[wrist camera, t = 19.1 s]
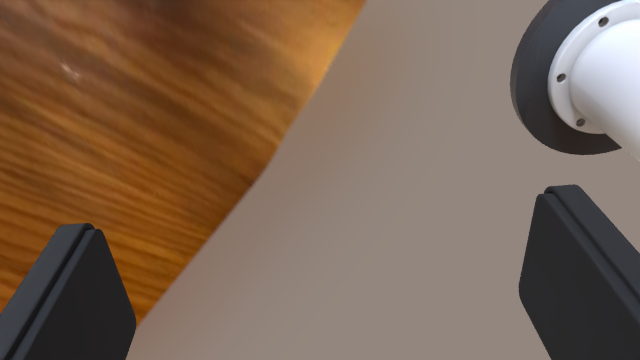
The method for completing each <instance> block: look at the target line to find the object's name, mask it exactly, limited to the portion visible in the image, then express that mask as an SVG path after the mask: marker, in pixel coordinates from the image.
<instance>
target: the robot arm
mask: <svg viewBox="0 0 640 360" xmlns="http://www.w3.org/2000/svg"><path fill="white" fill-rule="evenodd" d="M599 20H600V21H599ZM558 75H559V76H558ZM557 76H558V77H557ZM547 91H548V96H549V101H550V103H551V105H552V107H553V110H554V111H555V112H556V114H557V115H558V116H559V117H560V118H561V119H562V120H563V121H564V122H565V123H566V124H567V125H569V126H570V127H572V128H574V129H576V130H579V131H582V132H586V133H593V134H604V133H605V134H607V135H608V136H609V137H610V138H611V139H613V140H614V141H615V142H616V143H617V144H619V145H620V146H621V147H622V148H623V149H624V150H626V151H627V152H628V153H629V154H631V155H632V156H633V157H634V158H635V159H636V160H638V161H639V162H640V0H622V1H618V2H615V3H612V4H610V5H608V6H605V7H603V8H601V9H599V10H597V11H596V12H594V13H593V14H591V15H590V16H588V17H587V18H585V19H584V20H583V21H582V22H581V23H580V24H579V25H577V26H576V27H575V28H574V29H573V30H572V31H571V33H570V34H569V35H568V36H567V37H566V39H565V40H564V41H563V43H562V44H561V46H560V48H559V49H558V51H557V52H556V54H555V57H554V59H553V62H552V64H551V66H550V71H549V75H548V89H547ZM519 296H520V299H521V302H522V304H523V306H524V308H525V310H526V312H527V314H528V315H529V317H530V319H531V321H532V323H533V325H534V327H535V329H536V331H537V333H538V335H539V337H540V338H541V340H542V342H543V344H544V346H545V348H546V350H547V352H548V354H549V356H550V358H551V359H552V360H640V253H639V252H638V251H637V250H636V249H635V248H634V247H633V246H632V245H631V243H630V242H628V240H627V239H626V238H625V237H624V236H623V234H622V233H621V232H620V231H619V230H618V229H617V228H616V227H615V226H614V224H613V223H612V222H611V221H610V220H609V219H608V218H607V217H606V215H605V214H604V213H603V212H602V211H601V210H600V209H599V208H598V207H597V205H596V204H595V203H594V202H593V201H592V200H591V199H590V197H589V196H588V195H587V194H586V193H585V192H584V191H583V190H582V189H581V188H580V187H579V186H578V185H563V186H550V187H547V188H546V190H545V191H544V194H539V195H538V196H537V198H536V202H535V207H534V212H533V217H532V222H531V227H530V232H529V237H528V242H527V247H526V252H525V257H524V262H523V267H522V272H521V277H520V282H519ZM135 330H136V317H135V314H134V311H133V309H132V306H131V304H130V301H129V298H128V296H127V293H126V291H125V288H124V285H123V283H122V280H121V278H120V275H119V273H118V270H117V267H116V265H115V262H114V260H113V257H112V254H111V252H110V249H109V247H108V244H107V241H106V239H105V236H104V234H103V232H102V231H101V230H100V229H95V228H94V226H93V225H92V224H90V223H83V224H70V225H62V226H60V227H59V228H58V229H57V230H56V232H55V233H54V235H53V236H52V238H51V239H50V241H49V242H48V244H47V245H46V247H45V248H44V250H43V251H42V253H41V254H40V256H39V257H38V259H37V260H36V262H35V263H34V265H33V266H32V268H31V269H30V271H29V272H28V274H27V275H26V277H25V278H24V280H23V281H22V283H21V284H20V286H19V287H18V289H17V290H16V292H15V293H14V295H13V296H12V298H11V299H10V301H9V302H8V304H7V305H6V307H5V308H4V310H3V311H2V313H1V314H0V360H125V359H126V357H127V354H128V351H129V348H130V345H131V342H132V339H133V336H134V334H135Z"/></svg>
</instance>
